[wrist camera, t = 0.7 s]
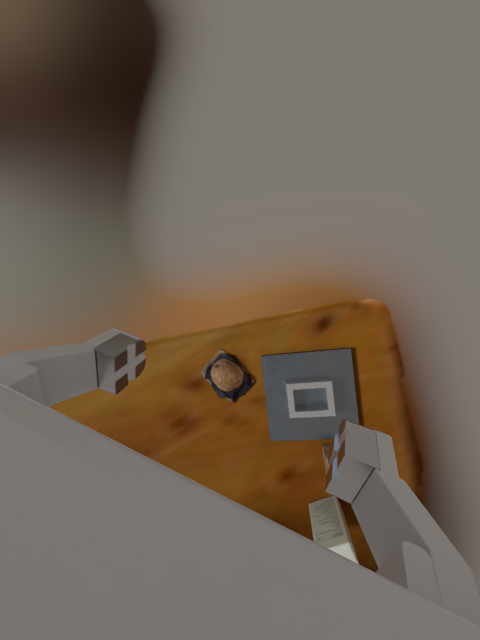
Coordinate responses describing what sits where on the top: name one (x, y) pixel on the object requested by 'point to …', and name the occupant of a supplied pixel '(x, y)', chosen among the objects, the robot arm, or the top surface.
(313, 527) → the skincare box
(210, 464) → the top surface
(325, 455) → the walnut peg
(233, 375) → the bread roll
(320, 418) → the metal duct collar
